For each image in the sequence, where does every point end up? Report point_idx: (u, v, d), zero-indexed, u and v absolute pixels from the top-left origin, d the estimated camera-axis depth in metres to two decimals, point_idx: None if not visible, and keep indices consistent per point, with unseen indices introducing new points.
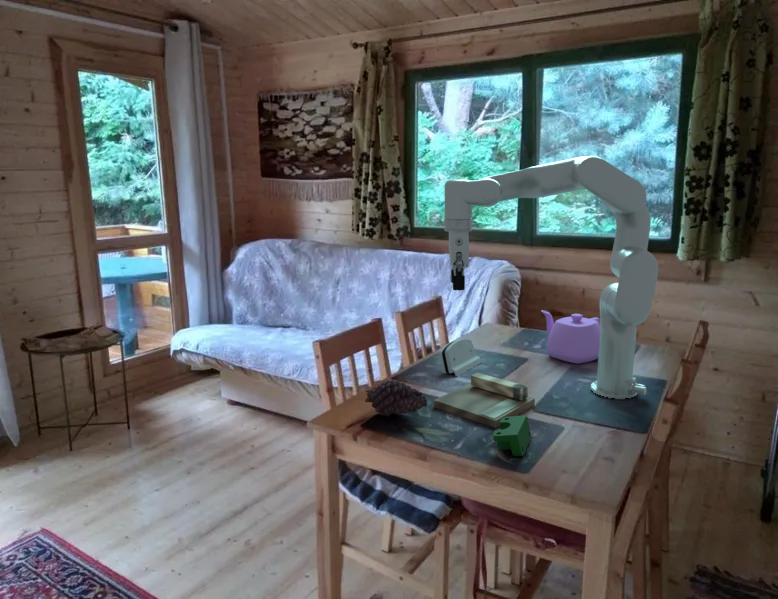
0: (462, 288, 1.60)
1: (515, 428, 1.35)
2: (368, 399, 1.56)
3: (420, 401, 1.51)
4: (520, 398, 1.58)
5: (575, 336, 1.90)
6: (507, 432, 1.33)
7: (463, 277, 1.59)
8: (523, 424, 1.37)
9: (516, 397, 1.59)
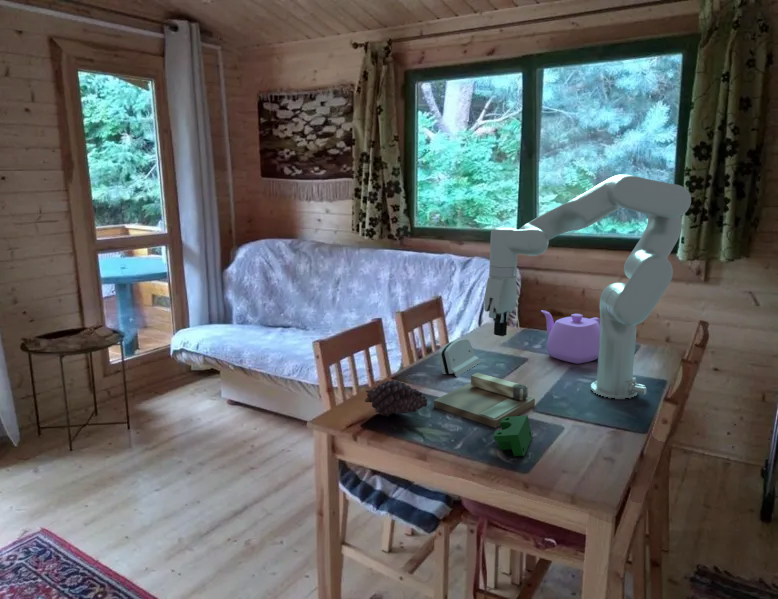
0: None
1: (516, 428, 1.35)
2: (368, 399, 1.56)
3: (420, 401, 1.51)
4: (520, 398, 1.58)
5: (575, 336, 1.90)
6: (508, 433, 1.33)
7: None
8: (524, 424, 1.37)
9: (516, 397, 1.59)
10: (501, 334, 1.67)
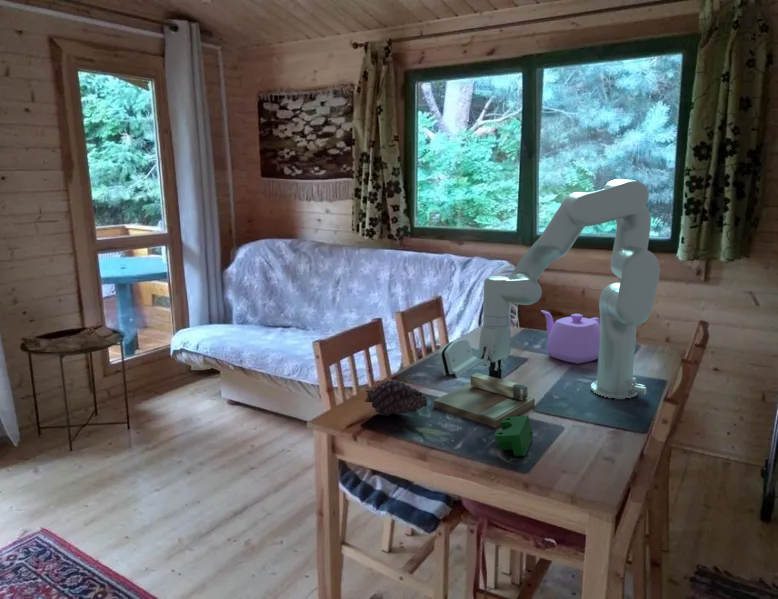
0: None
1: (517, 428, 1.35)
2: (368, 399, 1.56)
3: (420, 401, 1.51)
4: (520, 398, 1.58)
5: (575, 336, 1.90)
6: (508, 433, 1.33)
7: None
8: (525, 424, 1.37)
9: (516, 397, 1.59)
10: None
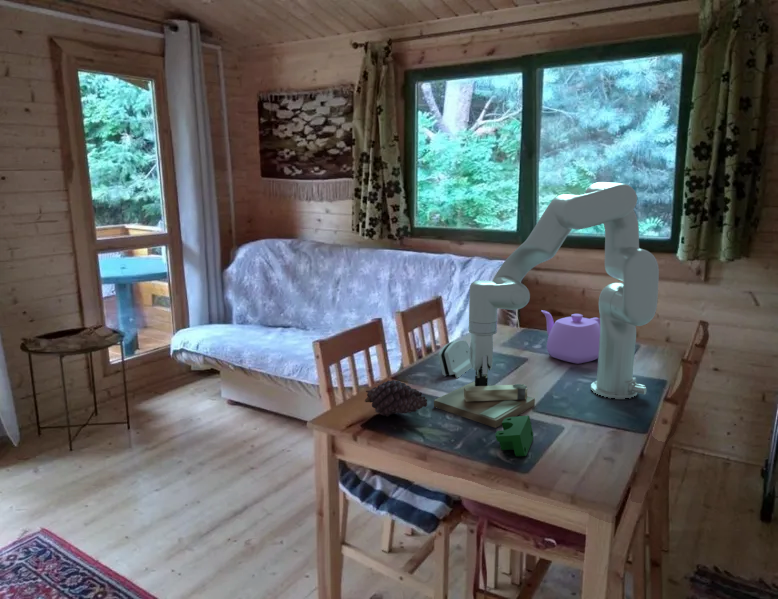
0: None
1: (517, 428, 1.35)
2: (368, 399, 1.56)
3: (420, 401, 1.51)
4: (525, 397, 1.59)
5: (575, 336, 1.90)
6: (509, 433, 1.33)
7: None
8: (525, 424, 1.37)
9: (522, 397, 1.58)
10: None
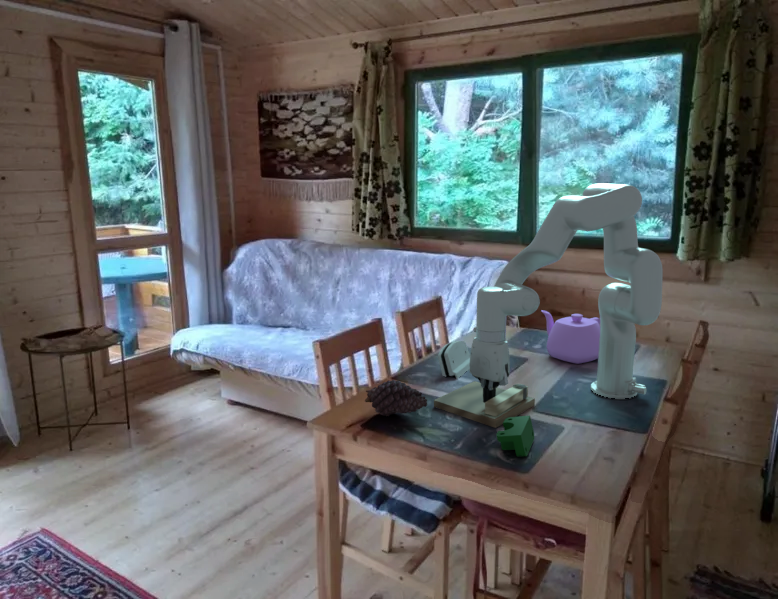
0: None
1: (518, 428, 1.35)
2: (368, 399, 1.56)
3: (420, 401, 1.51)
4: (526, 395, 1.60)
5: (575, 336, 1.90)
6: (510, 433, 1.33)
7: None
8: (527, 424, 1.37)
9: (526, 396, 1.59)
10: None
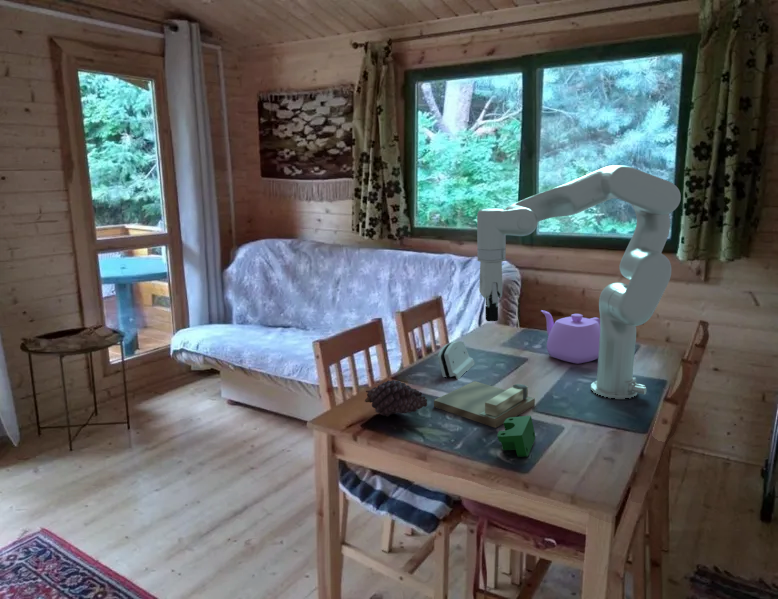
0: None
1: (519, 428, 1.34)
2: (368, 399, 1.56)
3: (420, 401, 1.51)
4: (526, 395, 1.60)
5: (575, 336, 1.90)
6: (511, 433, 1.33)
7: None
8: (527, 425, 1.37)
9: (526, 396, 1.59)
10: (495, 319, 1.62)
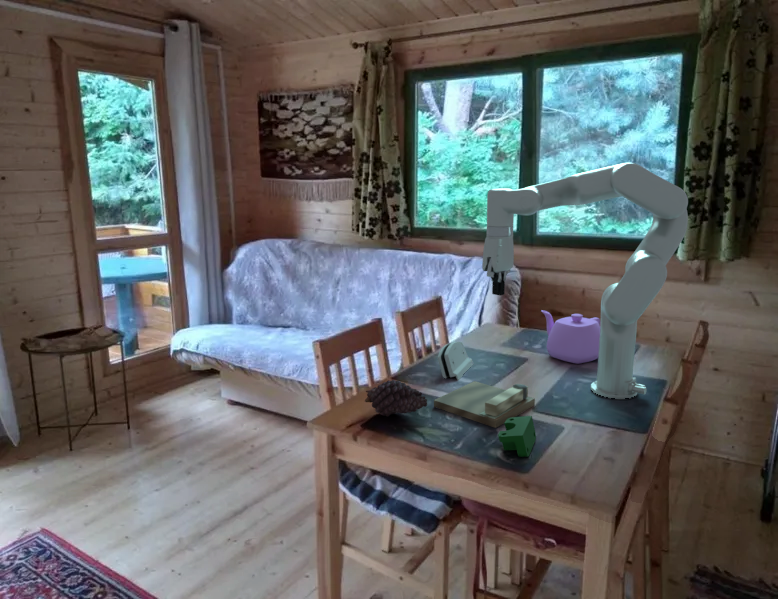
0: None
1: (520, 428, 1.34)
2: (368, 399, 1.56)
3: (420, 401, 1.51)
4: (526, 395, 1.60)
5: (575, 336, 1.90)
6: (512, 433, 1.33)
7: None
8: (528, 425, 1.37)
9: (526, 396, 1.59)
10: (499, 293, 1.72)
